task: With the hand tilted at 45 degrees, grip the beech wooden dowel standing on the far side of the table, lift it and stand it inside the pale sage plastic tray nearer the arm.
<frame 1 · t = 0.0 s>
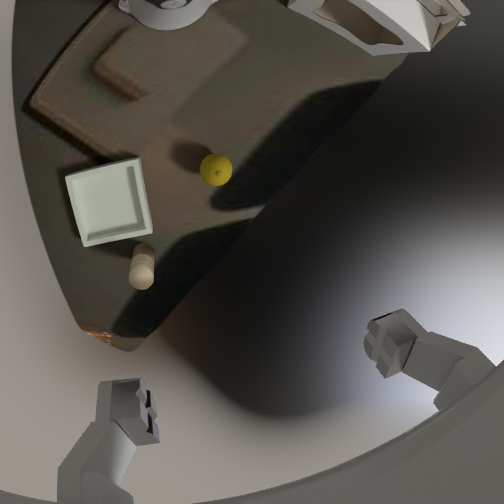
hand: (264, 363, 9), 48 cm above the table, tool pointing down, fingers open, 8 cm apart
dowel: (143, 252, 57), on the table
lemon: (212, 165, 53), on the table
tray: (110, 200, 50), on the table
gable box: (341, 9, 43), on the table
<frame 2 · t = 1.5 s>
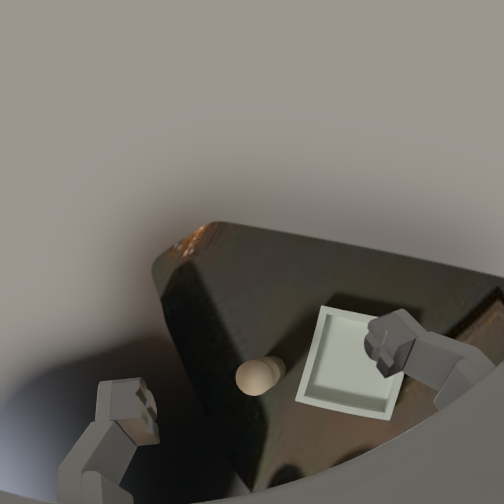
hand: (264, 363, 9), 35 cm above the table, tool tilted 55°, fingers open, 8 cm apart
dowel: (271, 369, 42), on the table
tray: (356, 363, 39), on the table
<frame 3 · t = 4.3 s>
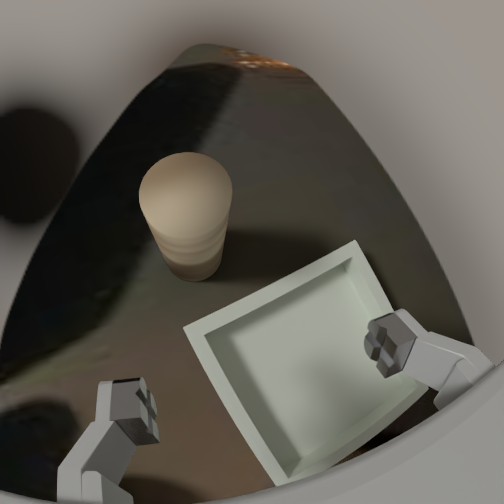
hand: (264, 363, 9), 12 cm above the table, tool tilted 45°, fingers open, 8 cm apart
dowel: (193, 253, 23), on the table
tray: (311, 367, 21), on the table
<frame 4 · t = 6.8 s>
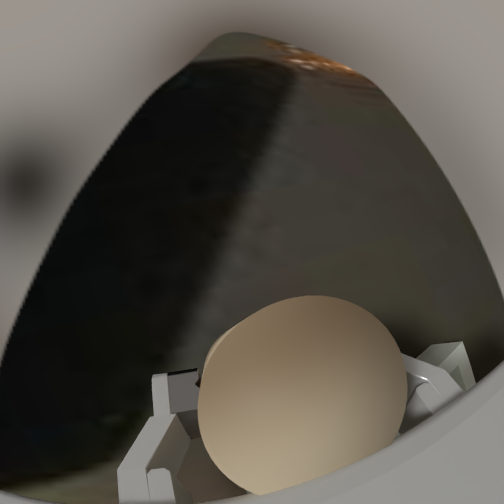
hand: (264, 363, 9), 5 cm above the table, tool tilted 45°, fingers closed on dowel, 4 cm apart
dowel: (248, 368, 14), on the table, touching gripper
tray: (386, 484, 13), on the table
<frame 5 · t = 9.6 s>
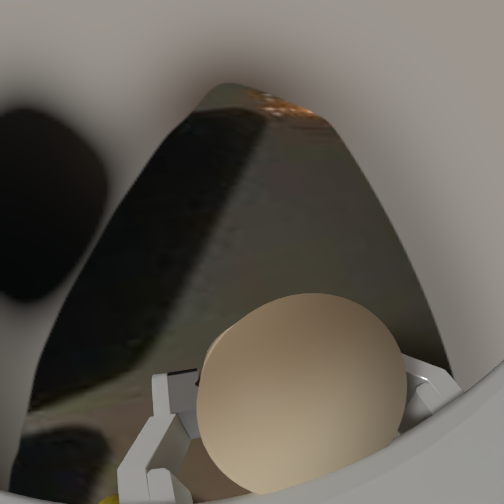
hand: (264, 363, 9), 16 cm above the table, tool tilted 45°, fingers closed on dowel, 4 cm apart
dowel: (247, 367, 14), point 11 cm above the table, touching gripper
lemon: (133, 502, 19), on the table
when the fingers open (8 cm above the table, at t = 12.6 s): dowel drops 1 cm, resting on tray.
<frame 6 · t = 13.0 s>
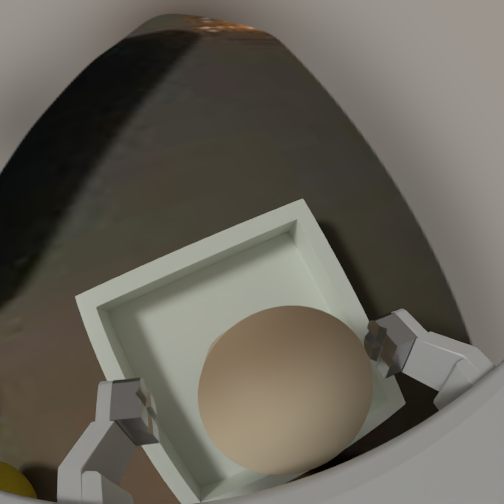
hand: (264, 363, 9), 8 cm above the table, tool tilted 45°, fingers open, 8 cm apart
dowel: (245, 365, 16), point 1 cm above the table, touching tray
lemon: (26, 480, 11), on the table
tray: (243, 363, 17), on the table
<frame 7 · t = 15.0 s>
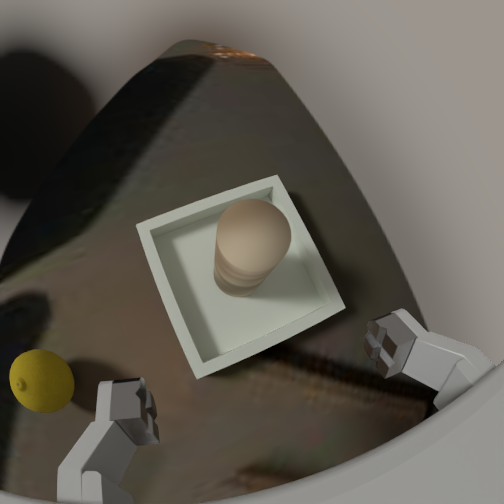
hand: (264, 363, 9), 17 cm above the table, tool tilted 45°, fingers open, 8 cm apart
dowel: (238, 272, 27), point 1 cm above the table, touching tray
lemon: (63, 377, 22), on the table
tray: (237, 275, 28), on the table
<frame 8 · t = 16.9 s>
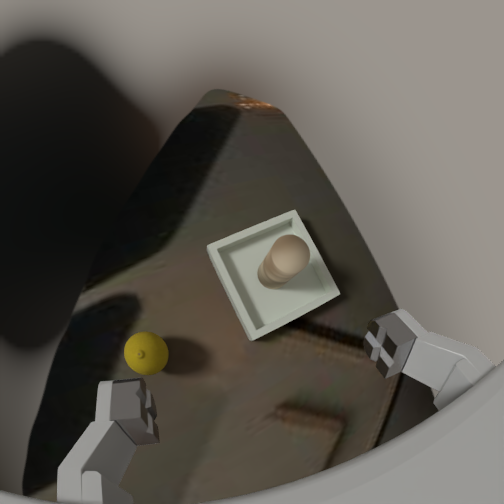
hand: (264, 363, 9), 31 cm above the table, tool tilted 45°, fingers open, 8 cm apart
dowel: (272, 274, 42), point 1 cm above the table, touching tray
lemon: (152, 352, 38), on the table
tray: (271, 275, 43), on the table
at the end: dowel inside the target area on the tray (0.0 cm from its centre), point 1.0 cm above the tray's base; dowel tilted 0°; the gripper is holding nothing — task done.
